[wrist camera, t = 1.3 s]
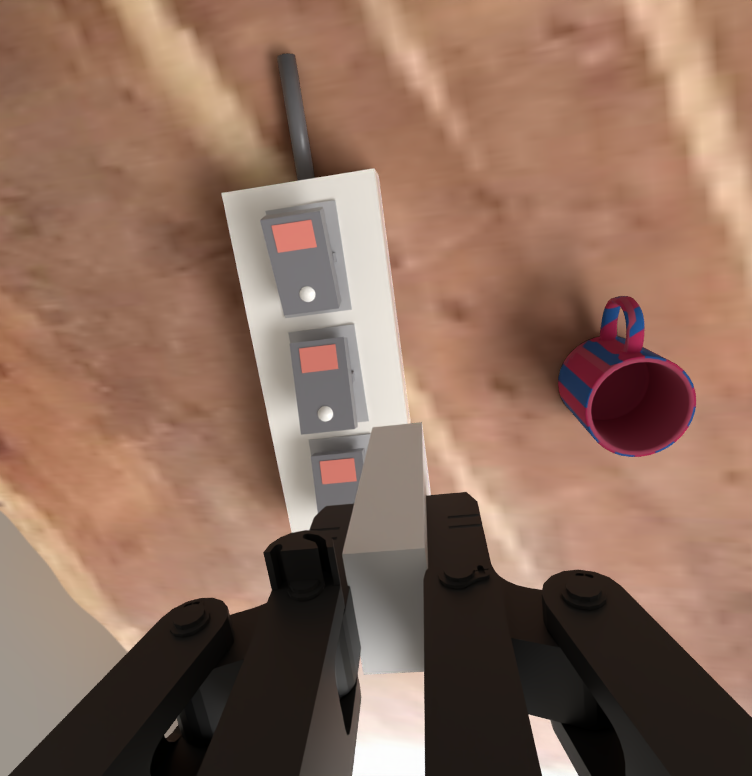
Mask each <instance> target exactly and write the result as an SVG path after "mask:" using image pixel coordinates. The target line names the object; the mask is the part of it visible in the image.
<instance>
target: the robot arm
mask: <svg viewBox="0 0 752 776" xmlns="http://www.w3.org/2000/svg"><path fill="white" fill-rule="evenodd" d="M263 553H264V557H265V562H266V566H267V570H268V575H269V579H270V584H271V588H272V592H271V594H270V597H269V599H268V602H267V603H265V604H263V605H260V606H258V607H255V608H252V609H249V610H245V611H242V612H239V613H235V614H232V615H230V614H229V610H228V607H227V606H226V605H225V603H224V602H223V601H221V600H218V599H215V598H199V599H195V600H191V601H188V602H185V603H184V604H182V605H180V606H178V607H176V608H174V609H172V610H171V611H170V612H168V613H167V614H166V615H165V616H163V617H162V618H161V619H160V620H159V621H158V622H157V623H156V624H155V625H154V626H153V627H152V628H151V629H150V630H149V631H148V632H147V633H146V634H145V636H144V637H143V638H142V639H141V640H140V641H139V642H138V643H137V644H136V645H135V646H134V647H133V648H132V649H131V650H130V651H129V652H128V653H127V654H126V655H125V656H124V657H123V658H122V659H121V660H120V661H119V662H118V663H117V664H116V665H115V666H114V667H113V669H112V670H110V672H109V673H108V674H107V675H106V676H105V677H104V678H103V679H102V680H101V681H100V682H99V683H98V684H97V685H96V686H95V687H94V688H93V689H92V690H91V691H90V692H89V693H88V694H87V695H86V696H85V697H84V698H83V699H82V700H81V702H80V703H79V704H77V705H76V707H75V708H74V709H73V710H72V711H71V712H70V713H69V714H68V715H67V716H66V717H65V718H64V719H63V720H62V721H61V722H60V723H59V724H58V725H57V726H56V727H55V728H54V729H53V730H52V731H51V732H50V733H49V735H47V736H46V737H45V739H44V740H42V742H41V743H40V744H39V745H38V746H37V747H36V748H35V749H34V750H33V751H32V752H31V753H30V754H29V755H28V756H27V757H26V758H25V759H24V760H23V761H22V762H21V763H20V764H19V765H18V766H17V767H16V768H15V769H14V770H13V772H11V774H9V775H8V776H352V771H353V763H354V754H355V746H356V738H357V729H358V721H359V712H360V704H361V691H360V684H359V679H358V668H359V660H360V657H361V662H362V668H363V673H364V675H366V674H385V673H405V672H424V703H425V776H542V774H541V769H540V765H539V760H538V756H537V751H536V747H535V743H534V738H533V734H532V729H531V725H530V720H529V716H528V714H530V715H533V716H537V717H541V718H545V719H549V720H551V724H552V727H553V730H554V732H555V734H556V735H557V737H558V739H559V741H560V743H561V744H562V746H563V748H564V750H565V752H566V753H567V755H568V757H569V759H570V761H571V763H572V764H573V766H574V768H575V770H576V772H577V773H578V775H579V776H752V717H751V716H750V715H749V714H748V713H747V712H746V711H745V710H744V709H743V708H742V707H741V706H740V705H739V704H738V703H737V702H736V701H735V700H734V699H733V698H732V697H731V696H730V695H729V694H728V693H727V692H726V691H725V690H724V689H723V688H722V687H721V686H720V685H719V684H718V683H717V682H716V681H715V680H714V679H713V678H712V677H711V676H710V675H709V674H708V673H707V672H706V671H705V670H704V669H703V668H702V667H701V666H700V665H699V664H698V663H697V662H696V661H695V660H694V659H693V658H692V657H691V656H690V655H689V654H688V653H687V652H686V651H685V650H684V649H683V648H682V647H681V646H680V645H679V644H678V643H677V642H676V641H675V640H674V639H673V638H672V637H671V636H670V635H669V634H668V633H667V632H666V631H665V630H664V629H663V628H662V627H661V626H660V625H659V624H658V623H657V622H656V621H655V620H654V619H653V618H652V617H651V616H650V615H649V614H648V613H647V612H646V611H645V610H644V609H643V608H642V607H641V606H640V605H639V604H638V603H637V601H636V600H635V599H634V598H633V597H632V596H631V595H630V594H629V593H628V592H627V591H626V590H625V589H624V588H623V587H622V586H620V585H619V584H618V583H616V582H615V581H614V580H612V579H611V578H609V577H607V576H604V575H601V574H599V573H596V572H592V571H584V570H570V571H563V572H560V573H558V574H555V575H553V576H551V577H550V578H549V579H548V580H547V581H546V582H545V583H544V585H543V589H542V590H539V589H532V588H527V587H522V586H518V585H515V584H513V583H510V582H508V581H506V580H505V579H503V578H502V577H500V576H499V575H498V574H497V573H496V572H495V570H494V569H493V567H492V565H491V562H490V557H489V553H488V548H487V543H486V539H485V534H484V530H483V526H482V521H481V516H480V512H479V507H478V503H477V501H476V500H475V499H474V498H473V497H471V496H470V495H469V494H468V493H467V492H461V493H450V494H439V495H431V492H430V483H429V475H428V467H427V459H426V451H425V443H424V435H423V426H422V422H419V423H409V424H400V425H390V426H381V427H372V431H371V435H370V439H369V444H368V448H367V452H366V456H365V460H364V465H363V469H362V473H361V477H360V481H359V486H358V490H357V494H356V498H355V502H354V504H343V505H331V506H325V507H324V508H323V509H322V510H321V511H320V512H319V513H318V514H317V515H316V516H315V517H314V518H313V521H312V524H311V527H310V529H309V530H304V531H298V532H293V533H290V534H288V535H285V536H283V537H280V538H279V539H277V540H276V541H274V542H273V543H271V544H270V545H269V546H268V547H267V549H266V550H265V551H264V552H263ZM176 718H177V721H178V726H177V727H176V729H175V730H174V731H173V733H172V734H170V735H169V736H168V737H167V738H165V737H164V734H165V733H166V732H167V730H168V729H169V728H170V726H171V725H172V724H173V722H174V721H175V720H176Z"/></svg>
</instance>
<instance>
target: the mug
mask: <svg viewBox="0 0 752 776" xmlns="http://www.w3.org/2000/svg"><path fill="white" fill-rule="evenodd" d="M620 307H621V308H622V310H623V312H624V315H625V320H626V339H625V338H622V337H618V336H617V320H618V314H619V310H620ZM643 341H644V318H643V313H642V310H641V308H640V306H639V305H638V303H637V302H636V301H635V300H634V299H633V298H631V297H628V296H619V297H615V298H611V299H610V300H609V301H608V303H607V304H606V306H605V309H604V312H603V317H602V323H601V330H600V337H595V338H593V339H590V340H587V341H585V342H584V343H582V344H580V345H579V346H577V347H576V348H575V349H574V350H573V351H572V352H571V353H570V354H569V355H568V356H567V358H566V359H565V361H564V362H563V365H562V367H561V369H560V373H559V378H558V387H559V393H560V396H561V399H562V400H563V402H564V404H565V405H566V407H567V408H568V409H569V410H570V411H571V412H572V413H573V415H574V416H575V417H576V418H577V419H578V420H579V422H580V423H581V424H582V425H583V426H584V427H585V429H586V430H587V431H588V432H589V433H590V434H591V436H592V437H593V438H594V439H595V440H596V441H597V442H598V444H600V445H601V446H602V447H604V448H605V449H607V450H609V451H610V452H612V453H615V454H618V455H622V456H629V457H641V456H647V455H651V454H654V453H657V452H660V451H662V450H664V449H666V448H668V447H669V446H670V445H672V444H673V443H675V442H676V441H677V440H678V439H679V438H680V437H681V436H682V435H683V434H684V432H685V431H686V430H687V428H688V427H689V425H690V423H691V421H692V419H693V416H694V413H695V408H696V393H695V389H694V386H693V383H692V381H691V379H690V378H689V376H688V375H687V374H686V372H685V371H684V370H683V369H682V368H680V367H679V366H678V365H677V364H675V363H673V362H671V361H669V360H667V359H665V358H663V357H661V356H659V355H658V354H656V353H654V352H652V351H650V350H648V349H646V348H644V347H642V346H643Z"/></svg>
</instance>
